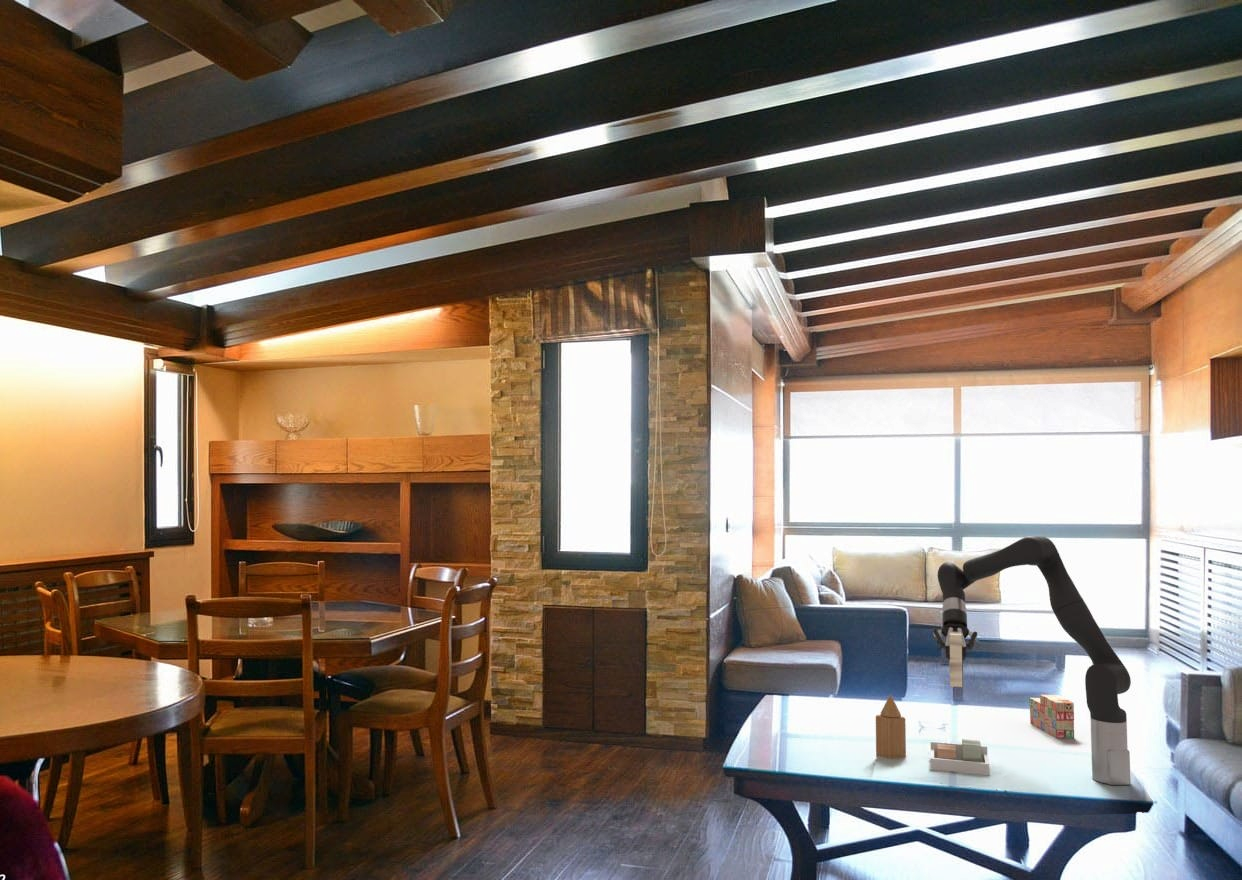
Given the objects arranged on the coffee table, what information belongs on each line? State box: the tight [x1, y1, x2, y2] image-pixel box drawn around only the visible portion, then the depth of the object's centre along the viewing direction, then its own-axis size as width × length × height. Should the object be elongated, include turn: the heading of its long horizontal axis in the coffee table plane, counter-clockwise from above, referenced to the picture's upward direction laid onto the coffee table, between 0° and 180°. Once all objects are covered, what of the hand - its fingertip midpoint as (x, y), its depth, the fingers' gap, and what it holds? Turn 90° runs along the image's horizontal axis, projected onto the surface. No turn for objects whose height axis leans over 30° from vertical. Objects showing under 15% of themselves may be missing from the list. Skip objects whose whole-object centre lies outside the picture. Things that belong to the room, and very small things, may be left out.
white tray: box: [929, 738, 991, 776], centre depth 270 cm, size 24×16×6 cm, turn 160°
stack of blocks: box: [1028, 694, 1075, 739], centre depth 314 cm, size 21×6×12 cm, turn 178°
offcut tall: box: [961, 738, 982, 762], centre depth 264 cm, size 6×5×7 cm
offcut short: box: [938, 744, 956, 760], centre depth 266 cm, size 5×5×5 cm
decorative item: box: [875, 693, 907, 760], centre depth 276 cm, size 7×7×20 cm
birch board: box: [949, 632, 963, 688], centre depth 281 cm, size 7×4×16 cm, turn 161°
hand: (955, 658), depth 280 cm, fingers closed on birch board, 3 cm apart
